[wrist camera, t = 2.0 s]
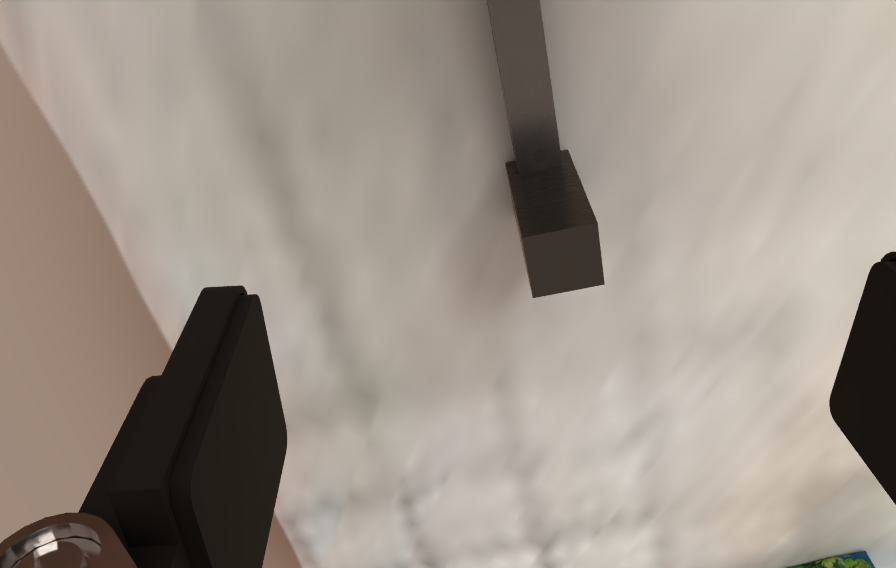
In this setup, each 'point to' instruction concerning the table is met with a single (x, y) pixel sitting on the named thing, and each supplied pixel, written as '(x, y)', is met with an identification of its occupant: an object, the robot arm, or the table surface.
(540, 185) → the hook tool
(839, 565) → the blue food package
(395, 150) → the table surface
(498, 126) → the table surface
